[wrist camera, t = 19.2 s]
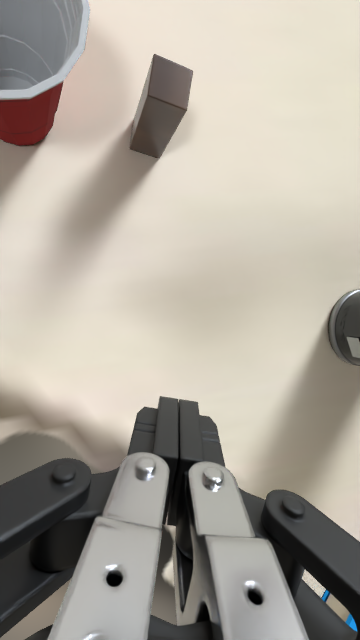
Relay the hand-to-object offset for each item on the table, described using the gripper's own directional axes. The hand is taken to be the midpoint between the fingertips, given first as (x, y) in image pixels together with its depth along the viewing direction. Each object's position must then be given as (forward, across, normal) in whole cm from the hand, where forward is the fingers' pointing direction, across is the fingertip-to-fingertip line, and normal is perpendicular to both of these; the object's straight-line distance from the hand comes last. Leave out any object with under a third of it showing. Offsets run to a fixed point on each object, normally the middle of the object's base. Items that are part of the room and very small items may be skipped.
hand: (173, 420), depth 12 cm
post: (+22, +6, -16) cm, 28 cm away
